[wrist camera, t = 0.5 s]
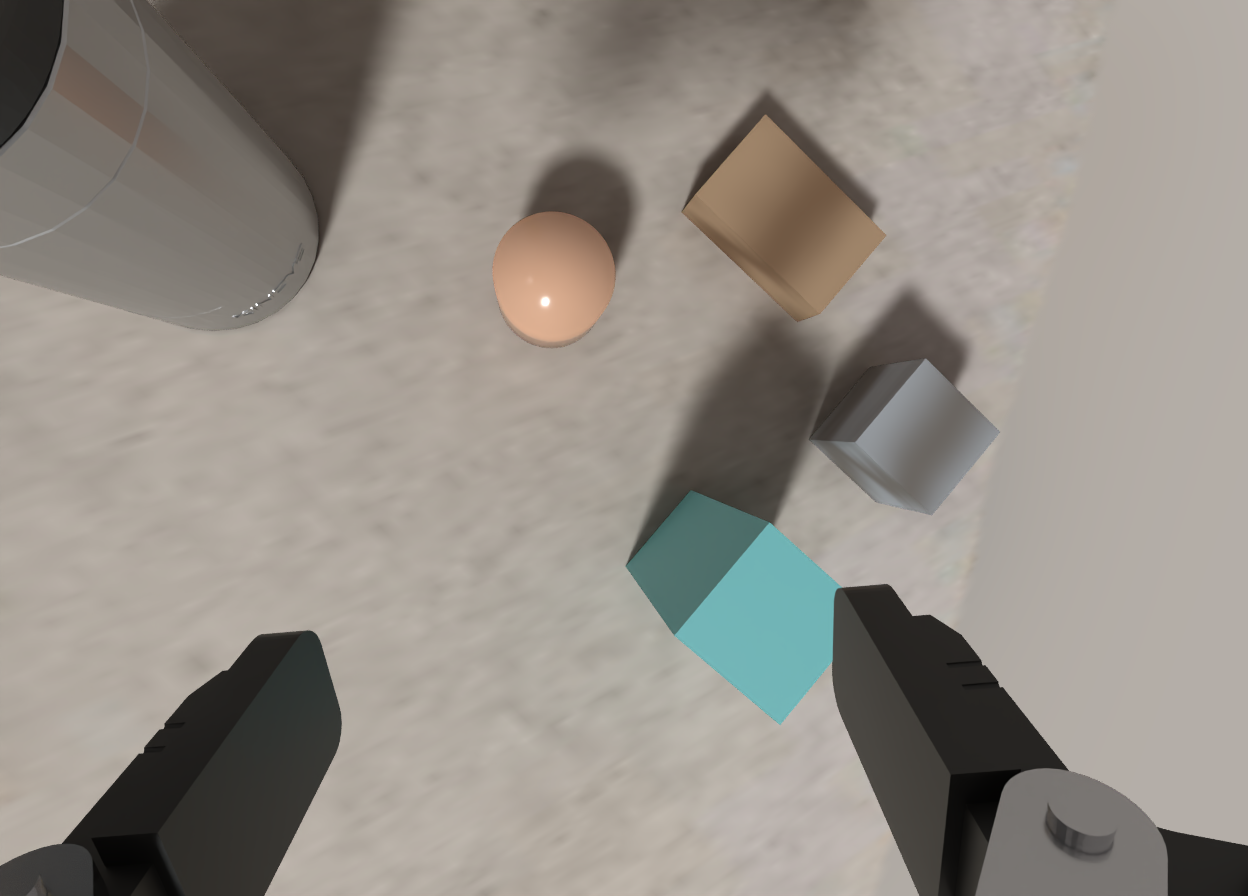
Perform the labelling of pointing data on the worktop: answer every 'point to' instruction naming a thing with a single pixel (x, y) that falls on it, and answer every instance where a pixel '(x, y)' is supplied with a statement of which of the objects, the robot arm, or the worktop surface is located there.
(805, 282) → the walnut slab
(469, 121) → the worktop surface
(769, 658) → the teal pillar
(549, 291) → the peach cylinder
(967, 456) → the slate cube
